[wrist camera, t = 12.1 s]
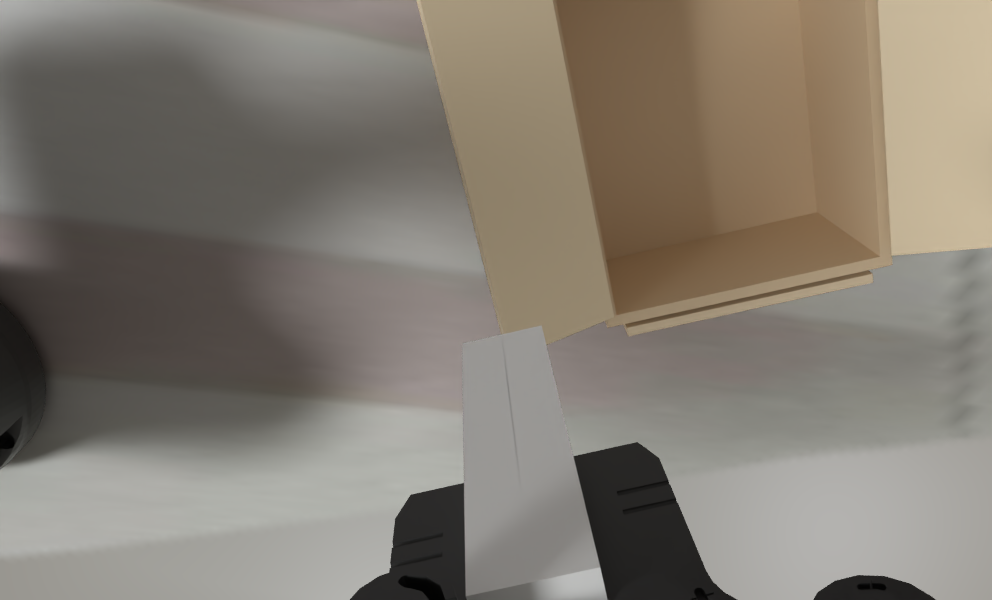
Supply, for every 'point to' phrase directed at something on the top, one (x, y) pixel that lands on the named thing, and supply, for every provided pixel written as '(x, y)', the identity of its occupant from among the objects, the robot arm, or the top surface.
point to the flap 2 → (937, 123)
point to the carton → (729, 150)
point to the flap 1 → (520, 161)
